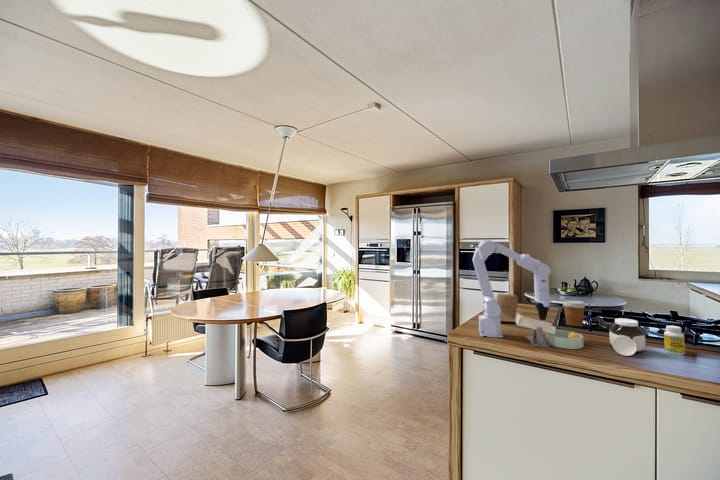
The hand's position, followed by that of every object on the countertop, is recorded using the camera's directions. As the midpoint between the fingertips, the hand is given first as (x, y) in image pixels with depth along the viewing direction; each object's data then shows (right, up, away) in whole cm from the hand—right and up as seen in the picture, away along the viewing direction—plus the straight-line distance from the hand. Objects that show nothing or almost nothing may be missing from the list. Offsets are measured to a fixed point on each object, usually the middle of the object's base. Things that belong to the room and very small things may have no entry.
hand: (542, 319), depth 138 cm
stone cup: (-5, -8, +27) cm, 28 cm away
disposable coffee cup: (+24, -7, +14) cm, 28 cm away
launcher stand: (-7, -8, -7) cm, 12 cm away
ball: (+6, -4, -11) cm, 14 cm away
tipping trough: (-7, -1, -3) cm, 8 cm away
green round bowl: (+3, -7, -10) cm, 13 cm away
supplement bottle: (+36, -6, -23) cm, 43 cm away
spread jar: (+19, -7, -22) cm, 30 cm away
